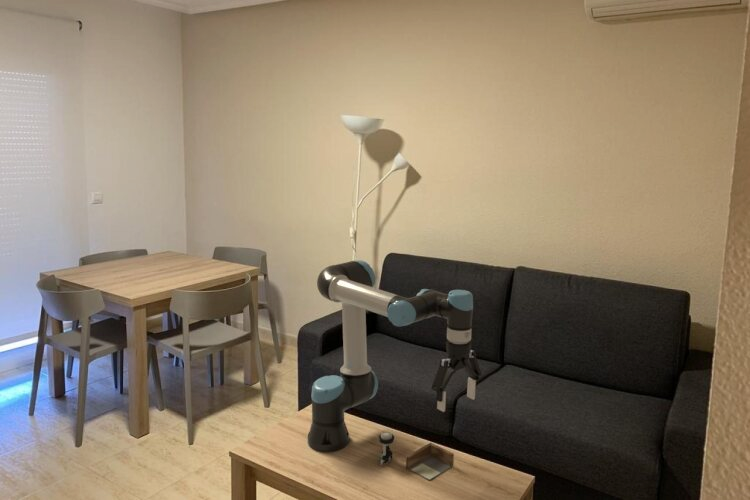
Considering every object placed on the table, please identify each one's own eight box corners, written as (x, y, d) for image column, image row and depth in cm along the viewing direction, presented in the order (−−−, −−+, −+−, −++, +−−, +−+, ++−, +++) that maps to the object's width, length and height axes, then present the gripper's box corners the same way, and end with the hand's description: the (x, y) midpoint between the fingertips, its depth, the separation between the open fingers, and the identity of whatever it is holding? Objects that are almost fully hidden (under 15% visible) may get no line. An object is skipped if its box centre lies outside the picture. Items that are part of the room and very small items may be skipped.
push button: (387, 468, 200) (388, 441, 198) (373, 464, 203) (374, 437, 201) (396, 459, 206) (397, 432, 204) (383, 455, 208) (383, 428, 206)
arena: (406, 468, 200) (406, 456, 199) (430, 454, 209) (430, 442, 208) (429, 480, 193) (429, 468, 192) (453, 465, 202) (453, 453, 201)
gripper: (439, 353, 173) (436, 420, 177) (494, 335, 189) (491, 397, 193) (421, 345, 179) (419, 410, 183) (476, 328, 194) (473, 389, 199)
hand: (456, 403), depth 188 cm, fingers open, 13 cm apart
